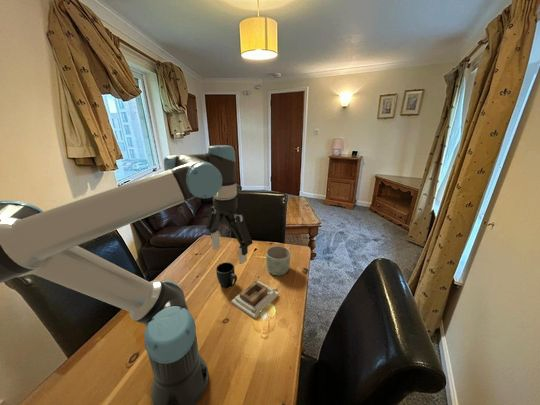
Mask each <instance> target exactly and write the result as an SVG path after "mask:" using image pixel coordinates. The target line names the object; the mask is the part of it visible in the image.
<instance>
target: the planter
mask: <svg viewBox="0 0 540 405" xmlns="http://www.w3.org/2000/svg"><path fill="white" fill-rule="evenodd" d="M291 254H292V252H291V250H290V249H289V248H287V247H286V246H281V245H274V246H270V247H269V248H267V249H266V252H265V257H266V259H265V260H266V262H265V263H266V268H267V271H268V272H269V273H270V274H271V275H273V276H284V275H285V274H286V273H287V272H289V269H290V265H291Z"/></svg>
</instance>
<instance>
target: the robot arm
mask: <svg viewBox="0 0 540 405" xmlns="http://www.w3.org/2000/svg"><path fill="white" fill-rule="evenodd" d="M207 149H208V150H207V152H206V153H199V154H198V153H197V154H195V153H194V154H193V153H192V154H175V155H167V156H165V157H164V158H163V167H164V171H161V172H158V173H155V174H151V175H149V176H146V177H143V178H140V179H137V180H134V181H130V182H128V183H125V184H122V185H120V186H117V187H113V188H110V189H107V190H105V191H102V192H99V193H95V194H93V195H89V196H87V197H84V198H80V199H77V200H75V201H71V202H69V203H66V204H63V205H60V206H56V207H53V208H51V209H48V210H45V211H44V210H42V208H40V207H38V206H36V205H34V204H33V203H32V204H31V203H29V202H25V201H20V200H9V199H8V200H0V284H1V283H4V282H7V281H10V280H12V279H14V278H20V277H24V276H28V275H35V276H37V277H39V278H42V279H45V280H47V281H49V282H51V283H52V282H53V283H55V284H58V285H60V286H62V287H65V288H67V289H70V290H73V291H76V292H79V293H81V294H83V295H86V296H89V297H91V298H94V299H97V300H99V301H101V302H103V303H107V304H109V305H111V306H113V307H117V308H119V309H121V310H123V311H127V312H129V317H130V319H131V320H132V321H134V322H136V323H139V324H143V325H144V326H145V330H144V341H143V342H144V347H145V351H146V352H147V355H148V358H149V359H148V360H149V363H150V367H151V371H152V375H153V378H152V384H151V388H150V399H151V402H152V405H197V404H198V403H199V402H200V401H201V399H202V398H203V395H204V394H205V392H206V390H207V387H208V383H209V368H208V365H207V363H206V361H205V359H204V358H203V357H202V355H201V354H200V352H199V347H198V340H197V339H198V338H197V331H196V330H197V329H196V327H197V326H196V321H195V319H194V317H193V315H192V313H191V312H190V310H189V308H188V304H187V301H186V298H185V297H186V296H185V293H184V291H183V289H182V288H181V286H180V285H179V284H178V283H176V282H174V281H172V280H163V281H161V280H159V279H155V280H151V281H148V280H146V279H144V278H142V277H140V276H138V275H136V274H134V273H133V272H130V271H128V270H127V269H124V268H122V266H121V267H120V266H119V265H116V264H115V263H113V262H111V261H108V260H107V259H104V258H102V257H100V256H99V255H97V254H94V253H93V252H91V251H89V250H87V249H85V248H83V247H81V246H79V245H81V244H85V243H87V242H89V241H92V240H94V239H96V238H98V237H101V236H103V235H106V234H109V233H111V232H113V231H116V230H118V229H121V228H123V227H126V226H128V225H131V224H133V223H135V222H137V221H139V220H142V219H145V218H148V217H150V216H152V215H155V214H157V213H160V212H163V211H164V210H167V209H169V208H172V207H174V206H177V205H180V204H182V203H184V202H186V201H189V200H192V199H194V198H199V199H210V198H212V205H213V206H211V207H209V215H208V218H207V222H206V225H205V230H208V231H209V233H210V238H211V246H212V251H216V250H217V249H220V248H221V245H220V244H221V242H220V232H219V228H220V227H221V225H222V224H223V225H225V226H228V228H229V229H231V231H232V233H233V235H234V237H235V238H236V240H237V242H238V244H239V245H238V261H239V265H242V264H244V263H246V262H247V261H248V253H249V252H248V250H249V249H248V247H249V246H251V245H252V244H253V243H254V242H253V240H252V237H251V234H250V232H249V229H248V226H247V224H246V221H245V216H244V214H243V213H241V214H237V208H238V197H237V195H238V188H237V187H238V185H237V172H236V171H237V170H236V167H237V166H236V162H237V161H236V153H235V148H234V147H233V146H232V145H229V144H228V145H227V144H226V145H225V144H222V145H221V144H218V145H217V144H216V145H215V144H214V145H210V146H208V148H207Z"/></svg>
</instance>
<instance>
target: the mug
mask: <svg viewBox="0 0 540 405" xmlns="http://www.w3.org/2000/svg"><path fill="white" fill-rule="evenodd" d="M215 270H216V279H217V280H218V283H219V285H220V287H221V288H222V289H229V288H234V286H235V285H236V283H237V281H238V275H237V274H235V270H236V269H235V265H234V264H233V263H231V262H222V263H220V264H218V265H217V266H216V268H215Z"/></svg>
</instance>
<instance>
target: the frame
mask: <svg viewBox="0 0 540 405" xmlns="http://www.w3.org/2000/svg"><path fill="white" fill-rule="evenodd" d="M247 287H248V288H247ZM247 287H246V288H245V289H243V292H242V291H241V292H239V294H240V298H241V299H243V300H244V301H246V302H247V303H249V304H250V305H252V306H253V307H254V306H256V305H257V304H258V303H259V302H260V301H261V300H262V299H263V298H264V297H265V296H266V295H267V294H268V288H267V287H265V286H264V285H262V284H260V283H258V282H256V280H255V281H254V282H253V284H252V283H251V284H249V286H247ZM255 291H257V292H258V293H257V294H256V295H254V296H253V297H252V298H251V297H250V295H252V294H253V293H254V292H255Z"/></svg>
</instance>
